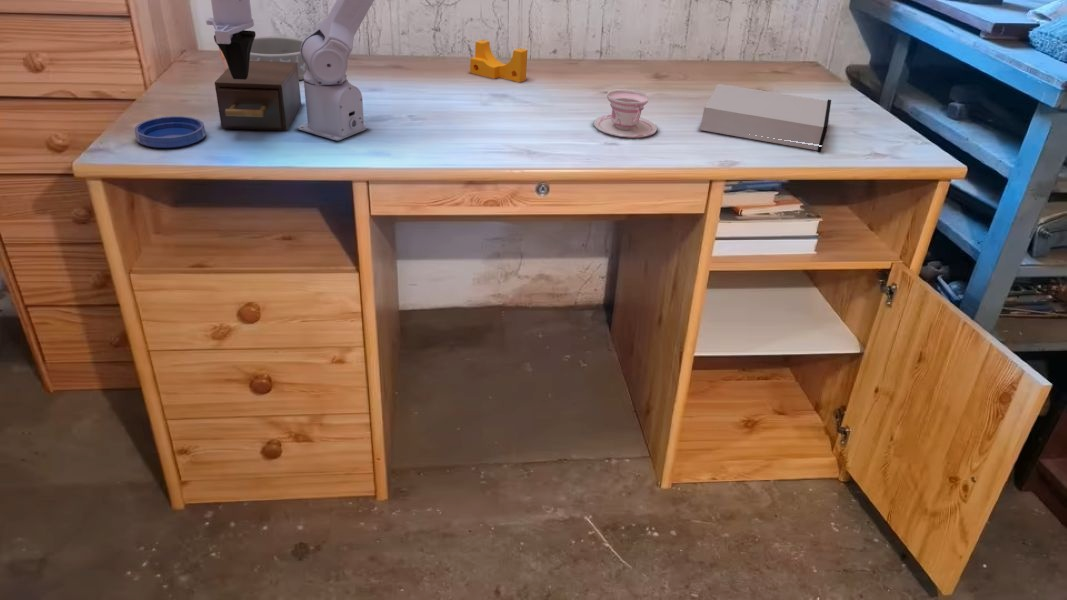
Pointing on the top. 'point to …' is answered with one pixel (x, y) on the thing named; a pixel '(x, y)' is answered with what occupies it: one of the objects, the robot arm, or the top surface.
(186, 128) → the blue saucer
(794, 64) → the top surface
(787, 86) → the top surface
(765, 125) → the disc drive
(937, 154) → the top surface
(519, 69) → the pipe clamp
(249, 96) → the drawer
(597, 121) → the teacup
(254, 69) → the cabinet
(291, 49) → the dog bowl
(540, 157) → the top surface
